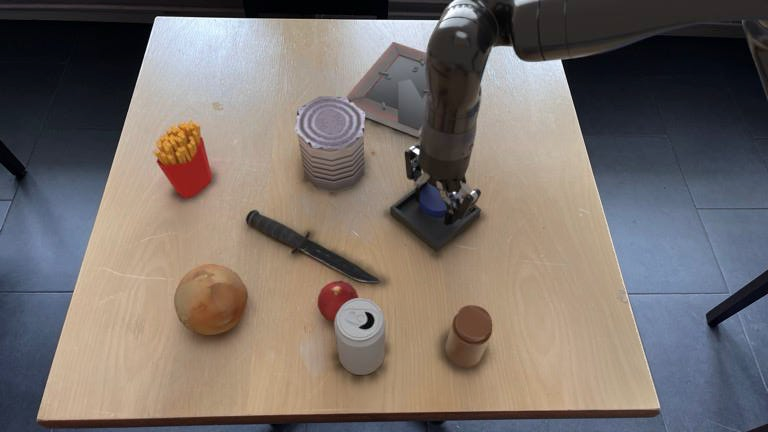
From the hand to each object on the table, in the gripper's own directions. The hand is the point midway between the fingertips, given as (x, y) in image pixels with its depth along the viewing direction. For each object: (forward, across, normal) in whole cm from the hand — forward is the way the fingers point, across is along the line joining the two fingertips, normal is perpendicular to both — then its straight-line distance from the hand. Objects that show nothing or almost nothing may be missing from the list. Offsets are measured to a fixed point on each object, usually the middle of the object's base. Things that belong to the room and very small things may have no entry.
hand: (435, 210), depth 87 cm
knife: (+2, -8, -20) cm, 21 cm away
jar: (+1, +19, -14) cm, 24 cm away
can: (+2, -20, -6) cm, 20 cm away
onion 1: (+2, -10, -36) cm, 38 cm away
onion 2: (+2, +2, -24) cm, 24 cm away
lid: (-3, 0, 0) cm, 3 cm away
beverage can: (+2, +10, -26) cm, 27 cm away
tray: (+1, 0, 0) cm, 1 cm away
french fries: (+2, -34, -26) cm, 42 cm away
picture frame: (+2, -26, +18) cm, 32 cm away
